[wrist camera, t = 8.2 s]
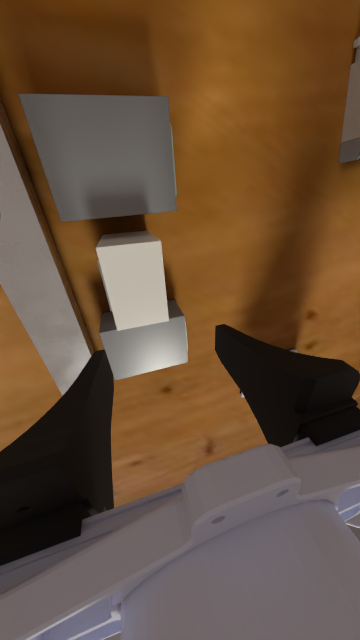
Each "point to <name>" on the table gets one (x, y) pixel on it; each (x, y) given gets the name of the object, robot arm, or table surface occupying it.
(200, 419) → the table surface
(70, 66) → the table surface
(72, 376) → the din rail
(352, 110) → the circuit breaker
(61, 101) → the mounted modules
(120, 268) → the block
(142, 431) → the table surface
